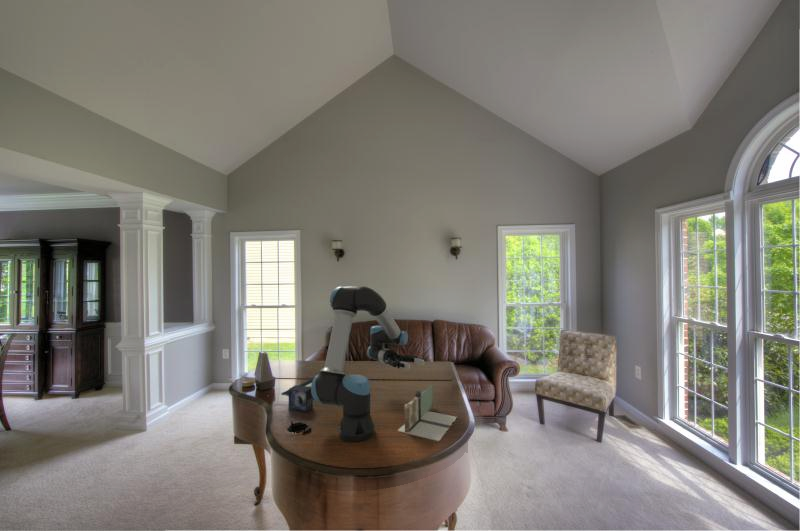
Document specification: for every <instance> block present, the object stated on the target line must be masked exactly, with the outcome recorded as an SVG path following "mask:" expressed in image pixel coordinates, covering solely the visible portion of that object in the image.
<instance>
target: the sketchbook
mask: <svg viewBox="0 0 800 531" xmlns="http://www.w3.org/2000/svg"><path fill="white" fill-rule="evenodd" d="M314 378H315V377H314ZM314 378H311V379H308V380H307V381H305V382H302V383H300V384H298V385H299V386H307V387H311V385H312V381H313V379H314ZM280 395H282V396H287V397H289V389H287V390H285V391H283V392H281V394H280ZM313 400H314V398H313Z"/></svg>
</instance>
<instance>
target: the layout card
mask: <svg viewBox="0 0 800 531" xmlns="http://www.w3.org/2000/svg"><path fill="white" fill-rule="evenodd" d="M456 418H458V416H455V415H449V414H443V413H439V412H434V411H429V410H428V411H427V412H426V413H425V414H424V415H423V416H422V417H421V420H420V421H417V422H416V423H415V424H414V425H413V426H412V427H411V428H410V429H409V432H405V423H404V424H403V425H402V426H400V427H399V428H398V429H397V432H399V433H403V434H407V435H411V436H416V437H419V438H424V439H427V440H432V441H436V442H440V441H441V440H442V438H443V437H444V436H445V435H446V433H447V432H446V431H448V430H450V428H451V427H452V425H453V424H452V423H453V422H454V423H455V422H456V420H457V419H456ZM450 426H451V427H450Z"/></svg>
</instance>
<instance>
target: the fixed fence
mask: <svg viewBox="0 0 800 531" xmlns="http://www.w3.org/2000/svg"><path fill="white" fill-rule="evenodd" d="M421 392H422V391H419V390H417V391H415V393H414V394H415V397H414V398H413V399H412V400H410V401H409V402H408V403H405V404H404V424H405V432H409V429H410V428H411V427H412V426H413V425H414V424H415V423H416V422H417V421H420V420H421V416H420V396H421Z"/></svg>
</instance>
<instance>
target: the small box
mask: <svg viewBox="0 0 800 531" xmlns="http://www.w3.org/2000/svg"><path fill="white" fill-rule="evenodd" d="M299 385H300V384H295V385H293V386H291V387H289V389H288V390H289V396H288V410H290V411H295V410H296V411H297V412H302V411H303V413H307V412H309V411H310V410H311V409H313V408H314V405H313V400H314V399H313V396H312V393H311V387H307V386H299ZM296 411H295V412H296Z"/></svg>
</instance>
